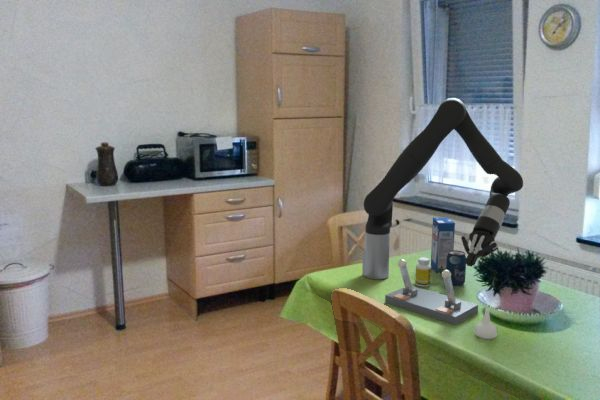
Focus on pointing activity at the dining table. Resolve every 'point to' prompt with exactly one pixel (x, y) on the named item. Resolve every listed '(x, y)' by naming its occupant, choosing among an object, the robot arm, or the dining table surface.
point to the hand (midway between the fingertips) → (468, 264)
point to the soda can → (456, 267)
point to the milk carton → (441, 242)
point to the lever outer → (449, 287)
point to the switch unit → (432, 304)
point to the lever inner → (405, 275)
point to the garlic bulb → (485, 328)
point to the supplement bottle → (423, 272)
